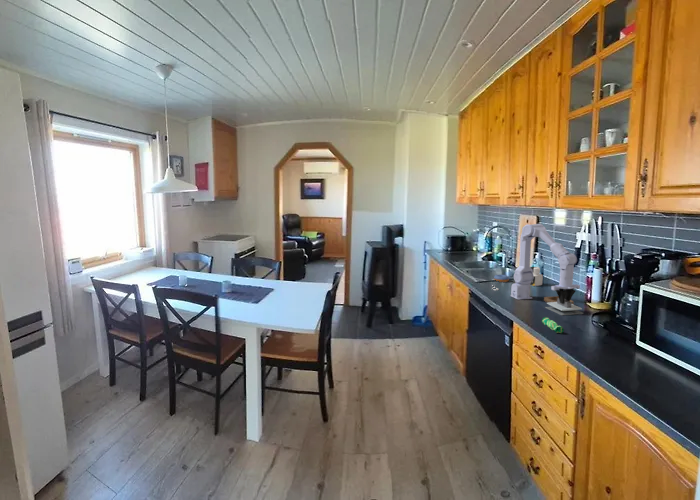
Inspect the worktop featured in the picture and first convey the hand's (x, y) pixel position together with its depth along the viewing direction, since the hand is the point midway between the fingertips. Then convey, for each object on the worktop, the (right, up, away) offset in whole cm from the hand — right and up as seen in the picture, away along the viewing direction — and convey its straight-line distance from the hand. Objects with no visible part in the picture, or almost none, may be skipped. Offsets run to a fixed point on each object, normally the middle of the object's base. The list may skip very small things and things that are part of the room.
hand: (564, 302), depth 177 cm
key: (-17, +2, +47) cm, 50 cm away
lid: (0, -3, +1) cm, 3 cm away
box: (+5, -2, +13) cm, 14 cm away
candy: (-19, -9, -22) cm, 30 cm away
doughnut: (-4, +5, +65) cm, 65 cm away
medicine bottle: (+12, +4, +53) cm, 54 cm away
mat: (0, -4, +1) cm, 4 cm away
